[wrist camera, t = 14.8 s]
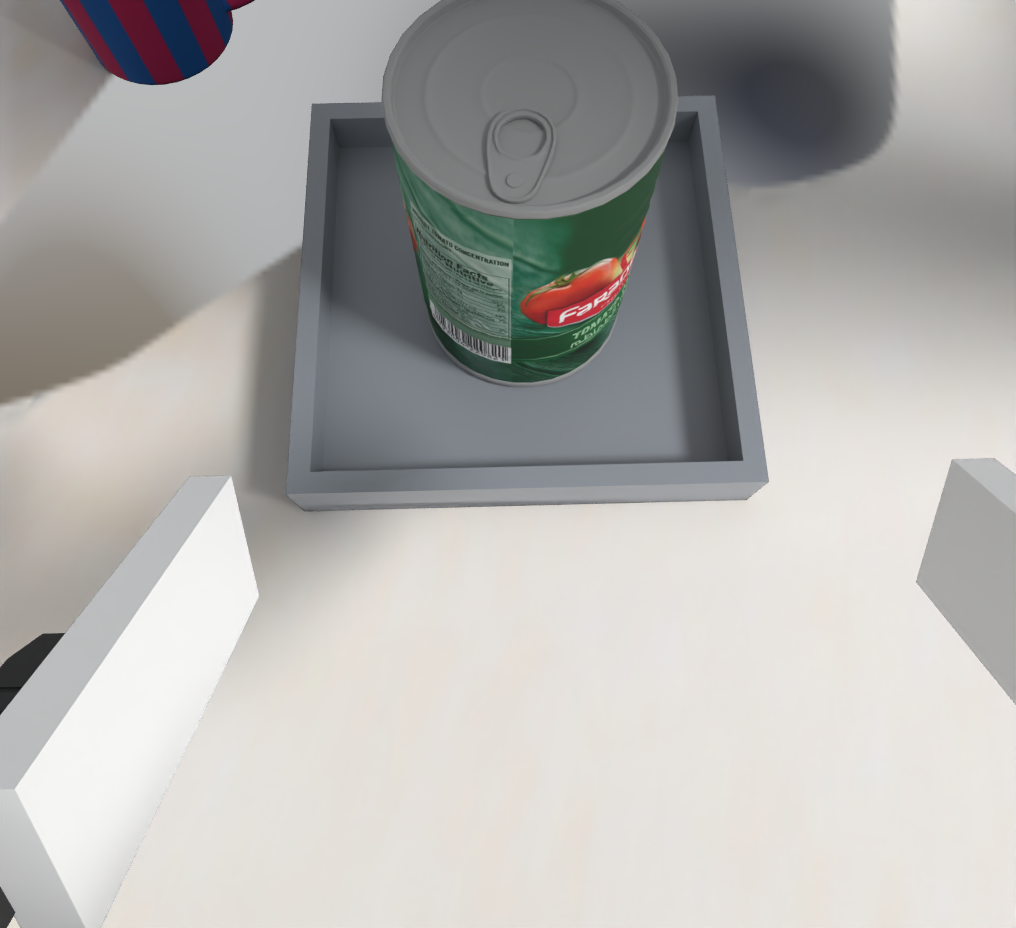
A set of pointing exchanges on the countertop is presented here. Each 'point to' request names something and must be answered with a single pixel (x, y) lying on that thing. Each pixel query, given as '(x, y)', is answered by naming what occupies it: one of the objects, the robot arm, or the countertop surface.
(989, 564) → the robot arm
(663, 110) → the canned tomato
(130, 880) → the countertop surface
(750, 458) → the tray
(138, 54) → the mug
